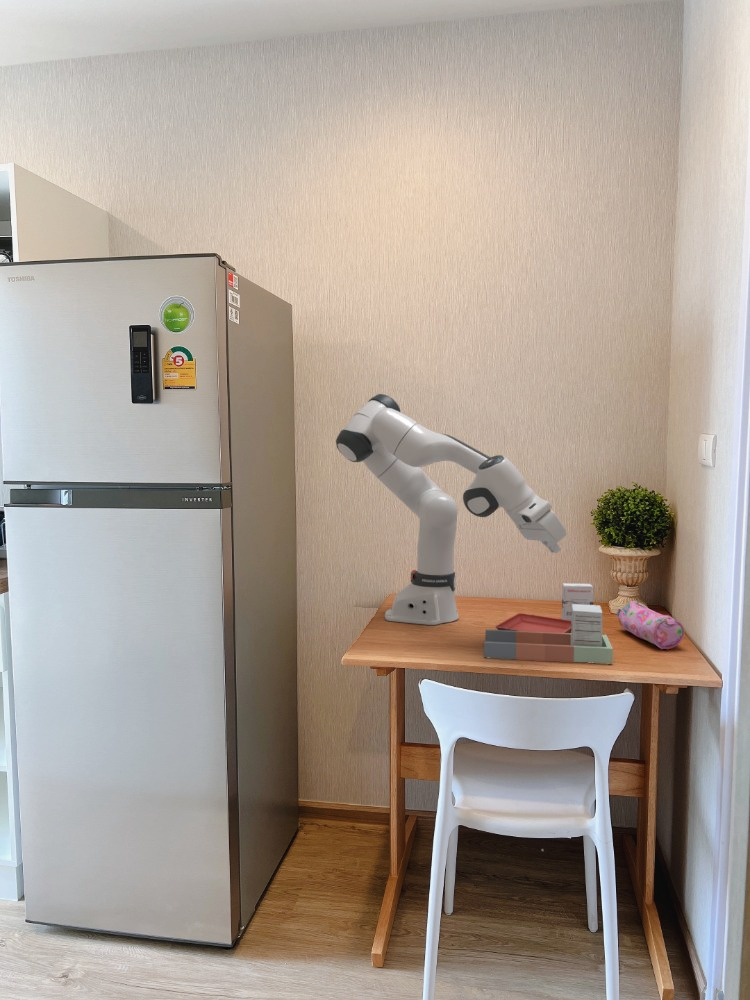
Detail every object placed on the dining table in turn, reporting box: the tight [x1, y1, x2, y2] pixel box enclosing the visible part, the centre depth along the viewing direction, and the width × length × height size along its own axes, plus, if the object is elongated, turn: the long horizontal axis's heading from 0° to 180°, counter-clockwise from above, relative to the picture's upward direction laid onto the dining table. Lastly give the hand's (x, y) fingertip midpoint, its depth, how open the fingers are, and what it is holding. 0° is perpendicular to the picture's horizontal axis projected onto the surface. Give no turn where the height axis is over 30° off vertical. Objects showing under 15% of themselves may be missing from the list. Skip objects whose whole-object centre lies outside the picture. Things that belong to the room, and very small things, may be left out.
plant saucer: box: [495, 612, 571, 633], centre depth 210 cm, size 18×18×3 cm
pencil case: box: [616, 600, 685, 650], centre depth 204 cm, size 21×9×9 cm, turn 8°
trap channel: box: [483, 629, 614, 664], centre depth 192 cm, size 31×12×4 cm, turn 80°
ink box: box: [561, 582, 595, 621], centre depth 221 cm, size 8×5×12 cm, turn 84°
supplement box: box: [570, 604, 604, 647], centre depth 189 cm, size 7×7×13 cm
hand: (556, 551), depth 195 cm, fingers closed
